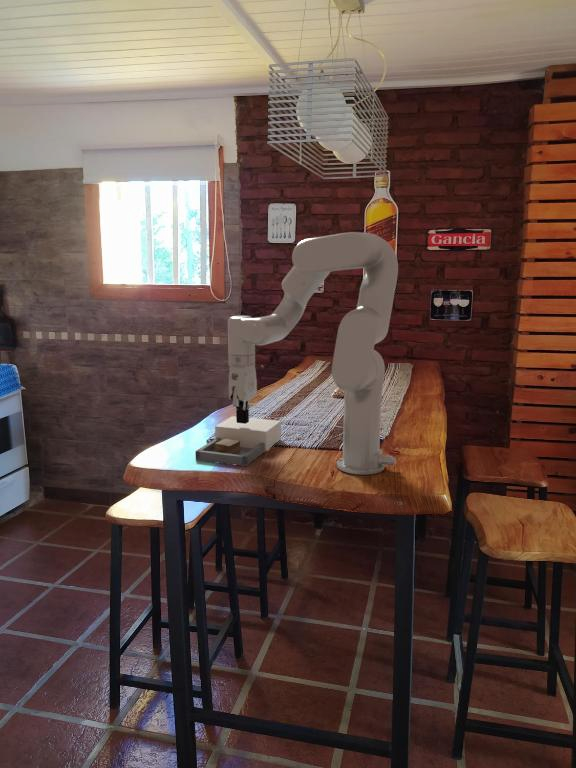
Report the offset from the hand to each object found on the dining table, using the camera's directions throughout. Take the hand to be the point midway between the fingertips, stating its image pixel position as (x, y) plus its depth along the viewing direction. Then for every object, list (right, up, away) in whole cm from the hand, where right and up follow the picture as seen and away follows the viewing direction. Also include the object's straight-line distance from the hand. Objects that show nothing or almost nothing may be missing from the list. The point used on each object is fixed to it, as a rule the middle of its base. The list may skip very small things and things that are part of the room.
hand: (242, 422), depth 173 cm
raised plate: (+1, -6, +5) cm, 9 cm away
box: (-3, -9, -6) cm, 11 cm away
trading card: (+24, -5, +15) cm, 29 cm away
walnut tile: (-4, -5, -6) cm, 9 cm away
